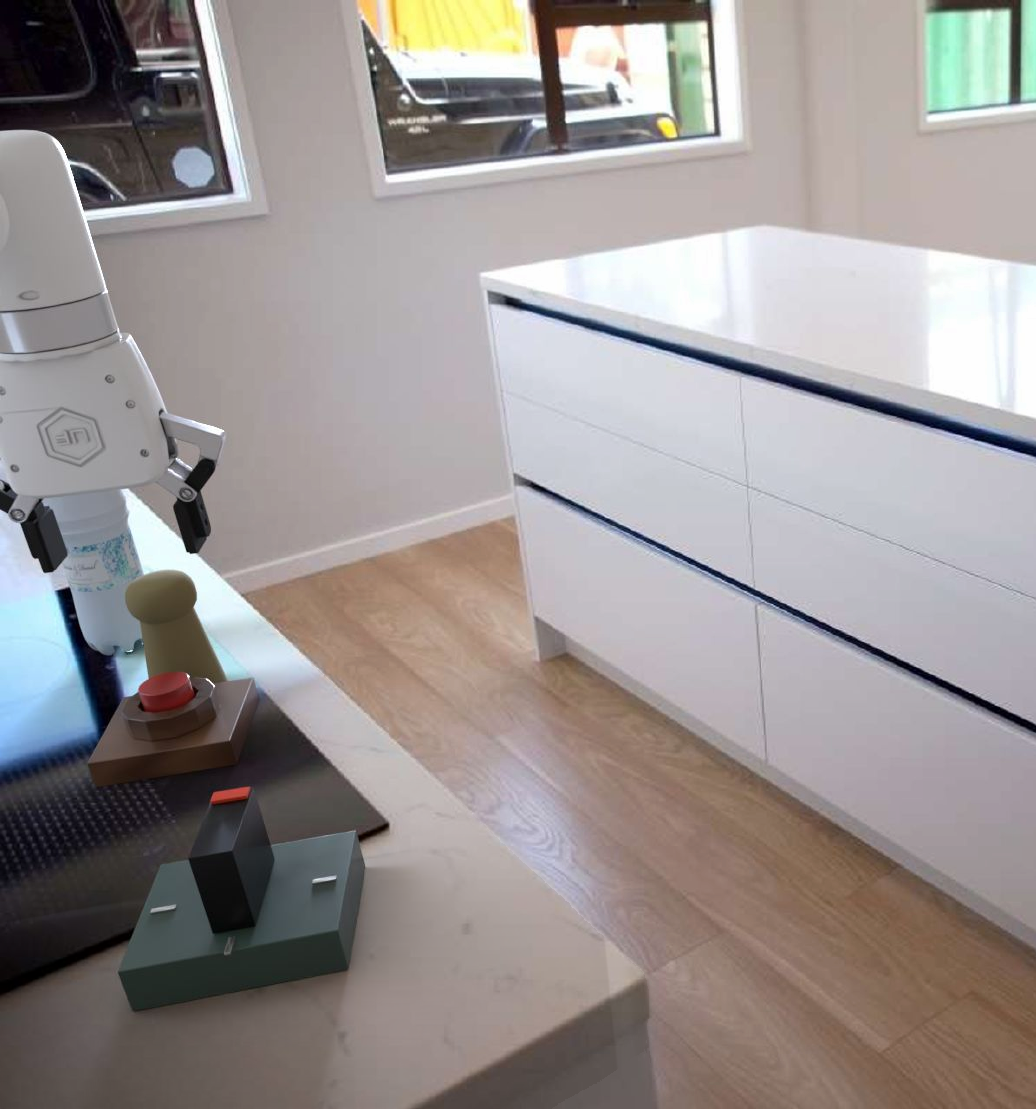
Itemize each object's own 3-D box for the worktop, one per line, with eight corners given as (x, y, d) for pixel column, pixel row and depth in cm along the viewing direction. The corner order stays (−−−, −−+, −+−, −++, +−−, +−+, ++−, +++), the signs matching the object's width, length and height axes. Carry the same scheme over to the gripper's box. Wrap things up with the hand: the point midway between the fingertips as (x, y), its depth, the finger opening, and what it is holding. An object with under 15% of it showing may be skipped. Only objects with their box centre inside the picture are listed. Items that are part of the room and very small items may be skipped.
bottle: (69, 658, 114) (-3, 449, 105) (123, 624, 120) (59, 423, 111) (132, 664, 112) (63, 452, 104) (184, 629, 118) (123, 425, 110)
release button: (138, 717, 96) (132, 698, 96) (150, 694, 99) (144, 675, 99) (189, 710, 97) (183, 690, 96) (199, 687, 100) (193, 668, 99)
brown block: (95, 788, 94) (79, 742, 93) (131, 719, 103) (116, 677, 102) (237, 764, 96) (223, 720, 94) (260, 699, 105) (248, 657, 103)
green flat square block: (130, 1016, 72) (114, 974, 71) (174, 897, 82) (161, 858, 81) (348, 973, 75) (336, 932, 73) (366, 863, 84) (356, 824, 83)
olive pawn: (231, 669, 110) (198, 555, 106) (228, 702, 105) (193, 583, 100) (155, 685, 108) (118, 569, 104) (148, 719, 103) (109, 599, 99)
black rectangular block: (255, 926, 74) (231, 847, 72) (212, 934, 74) (186, 854, 72) (275, 859, 80) (252, 783, 78) (235, 866, 80) (211, 790, 77)
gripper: (-115, 354, 80) (-22, 595, 87) (175, 325, 83) (241, 560, 90) (-64, 326, 87) (18, 551, 94) (202, 299, 89) (262, 520, 97)
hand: (127, 555), depth 92 cm, fingers open, 9 cm apart
